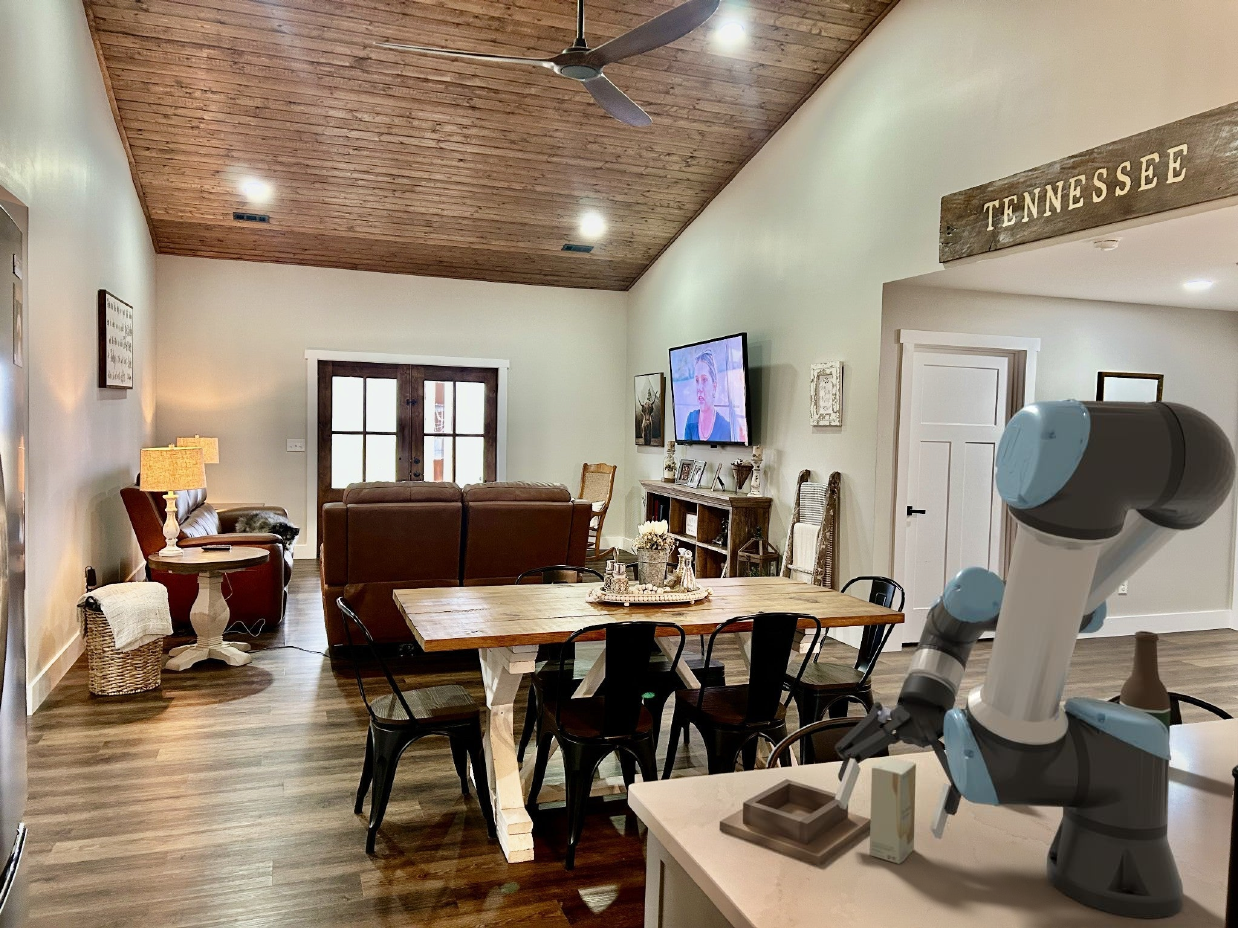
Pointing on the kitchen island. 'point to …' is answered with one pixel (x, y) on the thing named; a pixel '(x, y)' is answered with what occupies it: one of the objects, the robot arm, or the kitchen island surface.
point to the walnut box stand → (797, 821)
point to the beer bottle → (1146, 681)
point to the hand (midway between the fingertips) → (885, 818)
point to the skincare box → (892, 809)
